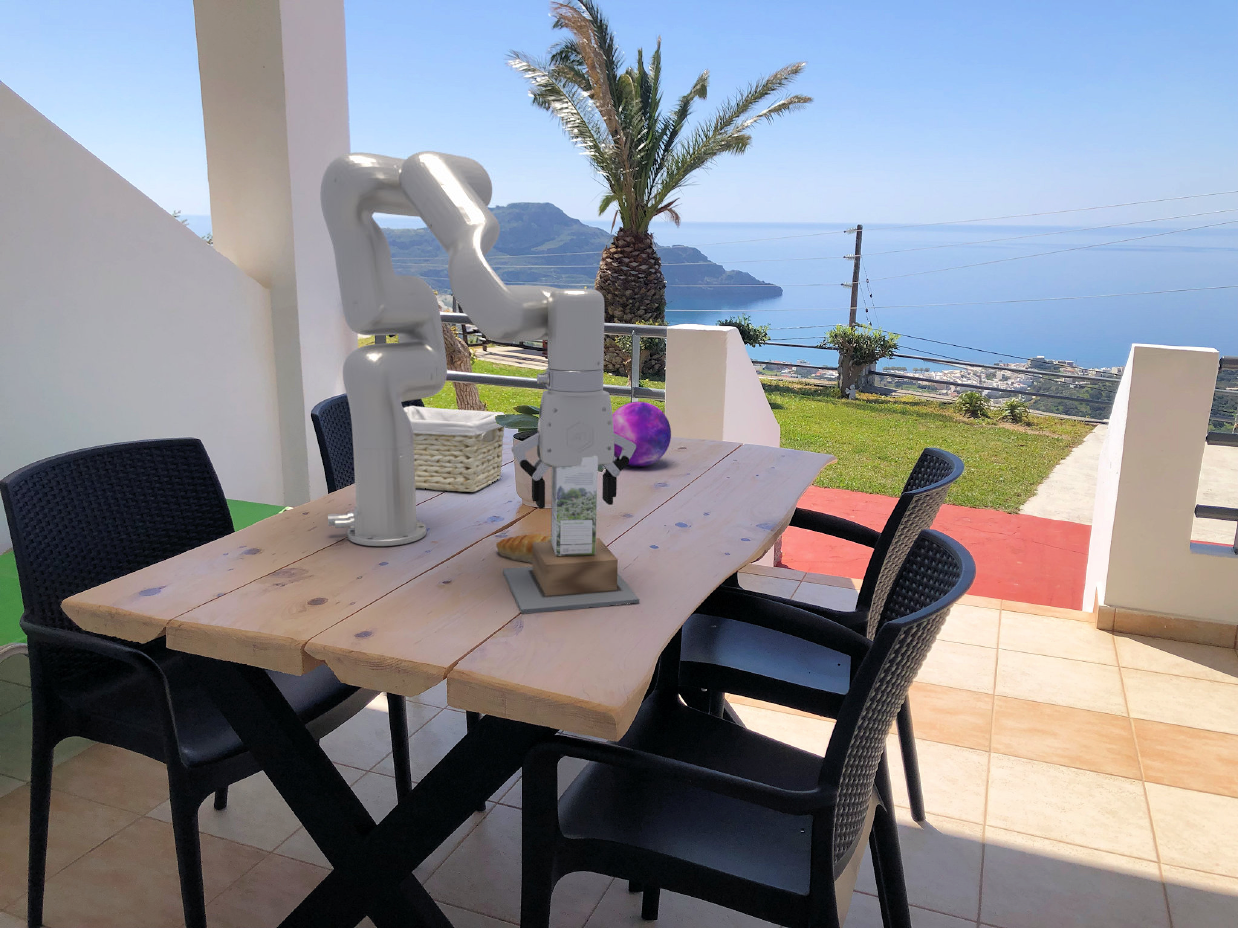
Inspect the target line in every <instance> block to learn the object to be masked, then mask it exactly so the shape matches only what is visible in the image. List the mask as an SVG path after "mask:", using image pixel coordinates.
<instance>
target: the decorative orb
mask: <svg viewBox="0 0 1238 928" xmlns="http://www.w3.org/2000/svg"><path fill="white" fill-rule="evenodd" d="M612 416H613V430H614V433H615V434H617V435H619V436H621V437H623V438H625V439H627V440H629V441H631V442H633V443H634V444H636V449H635V451H634V453H633V455H632V457H631V458H630V460H629V463H628V464H627V465H628V466H630V467H636V468H637V467H638V468H639V467H647V466H650V465H652V464H654V463H656V462H657V461H659V460H660V459H661V458H662V457H663V456H664V455H665V453H667V451H668V448H669V447H670V443H671V439H672V431H671V425H670V422H669V419H668V417H667V415H666V414H665V413H664V412H663V411H662V410H661V409H660V408H659V407H657V406H656V405H653V404H652V403H649V402H646V401H633V402H628V403H625V404H623V405H622V406H620V407H618V408H617V409H616V410H615V411H614V412H612ZM622 450H623V448H622V447H621V446H619V445H617V444H615V443H614V458H615V459H617V457H618V456H619V455H621V453H622ZM627 465H626V466H627Z"/></svg>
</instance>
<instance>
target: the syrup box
mask: <svg viewBox="0 0 1238 928" xmlns="http://www.w3.org/2000/svg"><path fill="white" fill-rule="evenodd" d="M598 468H599V466H598V457H597V456H592V457H583V458H582V462H581V465H577V466H569V467H559V468H554V467H551V507H550V509H551V517H550V518H551V522H550V524H551V526H550V527H551V528H550V532H551V534H550V536H551V543H552V546H553V549H554V552H555V554H556V556H578V555H595V554H596V538H597V511H598V510H597V508H598V507H597V505H598V503H597V502H598V500H597V499H598V473H599V472H598V471H599V470H598Z"/></svg>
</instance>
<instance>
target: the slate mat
mask: <svg viewBox="0 0 1238 928" xmlns="http://www.w3.org/2000/svg"><path fill="white" fill-rule="evenodd" d="M530 570H531V571H532V566H523V567H510V568H503V569H502V574H503V576H504V577H505V580H506V583H507V584H509V585H508V586H509V589H510V591H511V594H512V596H513V595H514V596H513V598H514V600H515V602H517V603H516V604H518V605H517V607H518V609H519V611H521V612H520V614H521V613H526V614H535V613H536V612H538V613H546V612H555V611H554V610H560V611H568V609H571V610H579V609H580V610H581V609H582V610H583V609H589V607H593V608H602V607H601V606H604V607H611V606H610V605H615V606H617V605H616V604H626V605H630V604H629V603H637V604H640V598H639V597H638V596H637V594H636V592H634V591H633V589H632V588H631V587H630V586H629V584H628V583H627V582H626V581H625V579H623V577H622V576H621V574H620V573H619V572H618V571H617V585H618V586H619V587H620V589H621V591H618V589H617V590H616V591H617V592H604V593H599V592H598V593H593V592H592V593H591V594H582V595H576V594H577V593H574V595H572V594H571V595H570V596H568V594H566V595H565V596H562V595H556V596H558V597H556V596H555V595H552V597H550V596H549V597H544V598H542V597H543V595H542V594H544V593H542V594H540V591H538V589H537V588H538V587H536V585H535V583H534V581H535V579H534V581H533V579H532V578H533V577H534V576H533V577H532V576H531V575H530V573H531V572H528V571H530ZM532 573H533V571H532ZM532 573H531V574H532ZM532 575H533V574H532ZM535 582H536V581H535ZM537 582H538V581H537ZM538 583H539V582H538ZM538 585H539V584H538ZM540 588H541V587H540ZM620 589H619V590H620ZM539 590H541V589H539ZM542 591H543V590H542ZM614 591H615V590H614ZM543 592H544V591H543ZM586 593H588V592H586ZM578 594H579V593H578ZM580 594H581V593H580ZM541 595H542V596H541ZM544 595H545V594H544ZM545 596H546V595H545ZM554 596H555V597H554ZM627 603H628V604H627Z"/></svg>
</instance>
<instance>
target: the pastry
mask: <svg viewBox="0 0 1238 928" xmlns="http://www.w3.org/2000/svg"><path fill="white" fill-rule="evenodd" d="M547 541H551V535H543V534H540V533H539V534H538V533H529V534H525V533H523V534H521V535H516V536H515V537H513V536H511V537H507V538H503V539H501V540H500V541H498V542H496V544H495V545H496V548H497V551H498V553H499V554H500V555H501V556H502V557H505V558H506V557H507V558H508V559H511V560H514V561H520V562H526V563H531V564H532V542H547Z"/></svg>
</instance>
